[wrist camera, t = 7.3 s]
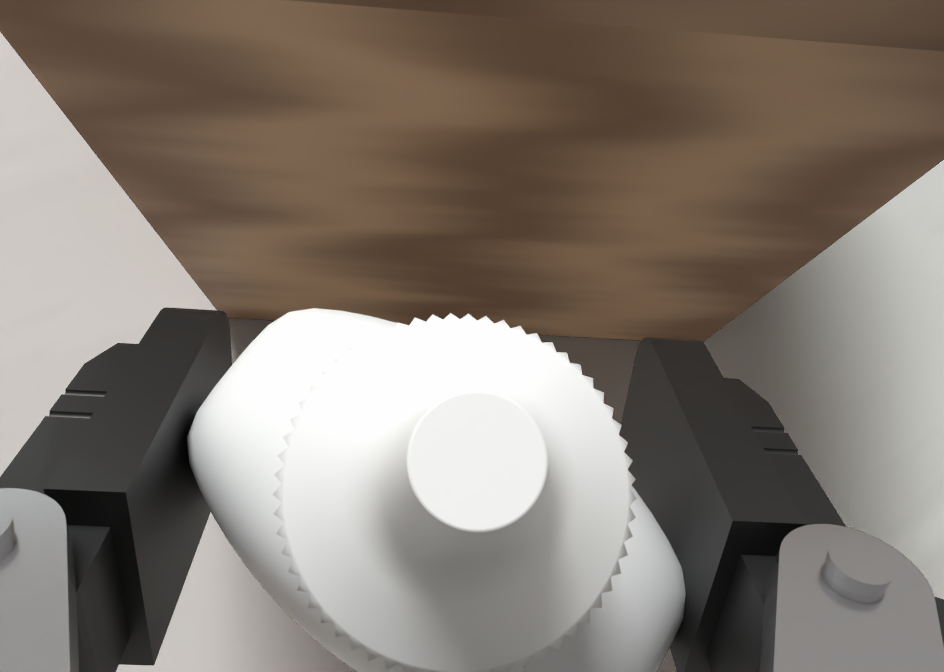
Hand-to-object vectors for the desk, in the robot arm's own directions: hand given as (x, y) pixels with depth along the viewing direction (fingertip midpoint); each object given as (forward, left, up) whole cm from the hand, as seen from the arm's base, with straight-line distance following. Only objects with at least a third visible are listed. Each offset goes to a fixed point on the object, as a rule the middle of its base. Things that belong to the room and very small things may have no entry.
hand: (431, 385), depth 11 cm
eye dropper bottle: (0, -2, -6) cm, 6 cm away
